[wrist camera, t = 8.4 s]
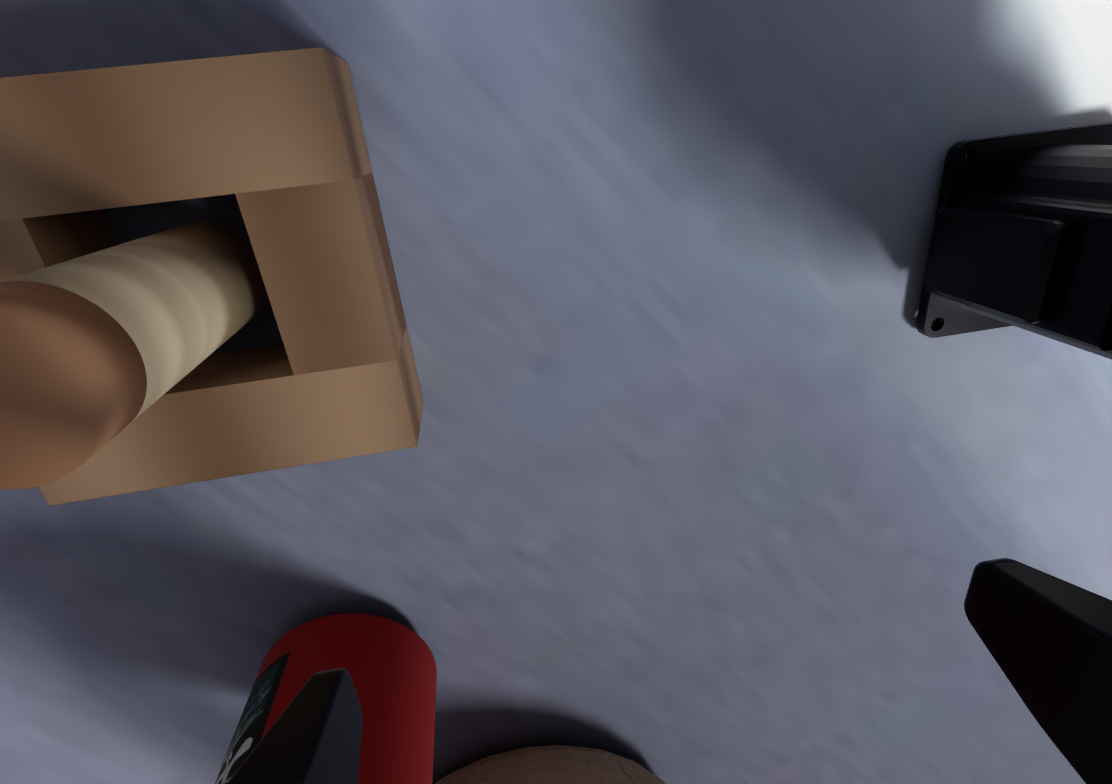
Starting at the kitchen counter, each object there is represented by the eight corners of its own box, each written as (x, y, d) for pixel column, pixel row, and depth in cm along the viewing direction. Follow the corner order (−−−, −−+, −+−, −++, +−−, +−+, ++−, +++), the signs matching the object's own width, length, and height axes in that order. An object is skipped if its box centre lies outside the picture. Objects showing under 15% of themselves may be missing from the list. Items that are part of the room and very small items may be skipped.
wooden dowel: (254, 213, 16) (41, 291, 8) (286, 315, 17) (131, 472, 9) (143, 227, 16) (-196, 322, 8) (184, 329, 17) (-71, 503, 9)
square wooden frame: (347, 63, 15) (322, 47, 12) (423, 402, 19) (416, 446, 16) (-65, 103, 14) (-191, 95, 11) (110, 451, 18) (48, 505, 16)
